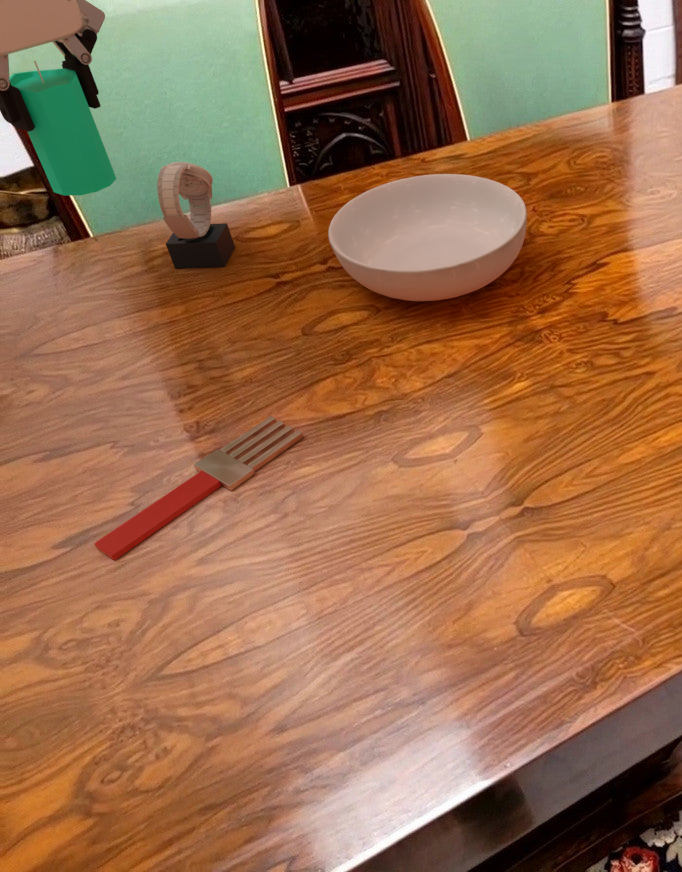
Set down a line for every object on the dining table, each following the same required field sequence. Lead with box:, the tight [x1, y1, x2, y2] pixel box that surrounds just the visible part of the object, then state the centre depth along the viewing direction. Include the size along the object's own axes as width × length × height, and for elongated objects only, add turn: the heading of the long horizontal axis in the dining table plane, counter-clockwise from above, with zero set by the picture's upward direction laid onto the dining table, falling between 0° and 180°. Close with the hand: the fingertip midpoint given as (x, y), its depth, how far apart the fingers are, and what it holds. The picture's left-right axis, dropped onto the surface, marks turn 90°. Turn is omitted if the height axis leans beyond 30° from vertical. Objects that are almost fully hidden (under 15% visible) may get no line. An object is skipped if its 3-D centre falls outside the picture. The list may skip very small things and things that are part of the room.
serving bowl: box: [327, 173, 528, 302], centre depth 102 cm, size 21×21×7 cm
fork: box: [93, 415, 304, 561], centre depth 78 cm, size 18×5×1 cm, turn 146°
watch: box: [156, 161, 236, 269], centre depth 103 cm, size 6×8×11 cm
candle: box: [9, 60, 117, 196], centre depth 90 cm, size 6×6×12 cm
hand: (56, 114), depth 90 cm, fingers closed on candle, 6 cm apart
